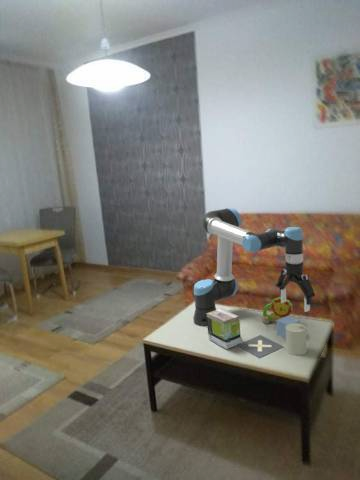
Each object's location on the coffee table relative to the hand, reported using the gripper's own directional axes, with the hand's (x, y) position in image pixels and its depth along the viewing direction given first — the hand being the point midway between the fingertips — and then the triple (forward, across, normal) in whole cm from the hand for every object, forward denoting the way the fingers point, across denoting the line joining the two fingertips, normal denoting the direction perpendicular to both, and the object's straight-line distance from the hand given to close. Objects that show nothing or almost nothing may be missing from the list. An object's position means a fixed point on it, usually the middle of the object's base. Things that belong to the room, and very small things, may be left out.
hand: (295, 306), depth 165 cm
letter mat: (+22, -14, -10) cm, 28 cm away
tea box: (+22, -28, -20) cm, 41 cm away
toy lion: (+22, -26, +15) cm, 37 cm away
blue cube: (+22, -12, +9) cm, 27 cm away
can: (+22, 0, 0) cm, 22 cm away
